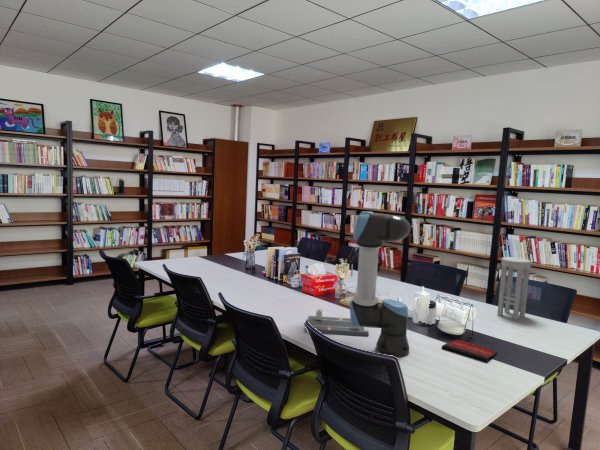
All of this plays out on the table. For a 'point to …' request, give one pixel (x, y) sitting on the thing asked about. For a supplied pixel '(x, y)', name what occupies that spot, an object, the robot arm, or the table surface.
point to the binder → (470, 350)
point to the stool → (520, 264)
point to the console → (337, 326)
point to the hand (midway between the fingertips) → (363, 276)
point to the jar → (431, 313)
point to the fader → (319, 314)
